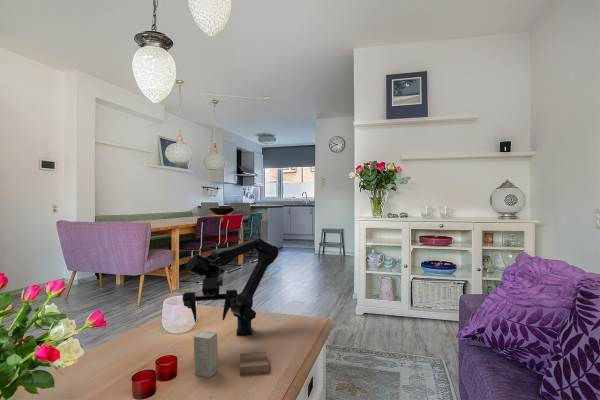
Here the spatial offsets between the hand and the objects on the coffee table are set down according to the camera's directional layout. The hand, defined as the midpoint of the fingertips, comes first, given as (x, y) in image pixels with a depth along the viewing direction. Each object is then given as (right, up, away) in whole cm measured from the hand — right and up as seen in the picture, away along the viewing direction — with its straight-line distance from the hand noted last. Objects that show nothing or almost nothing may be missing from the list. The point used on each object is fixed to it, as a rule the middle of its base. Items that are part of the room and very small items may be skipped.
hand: (209, 320), depth 109 cm
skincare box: (+1, -14, -8) cm, 16 cm away
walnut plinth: (+16, -13, -4) cm, 21 cm away
